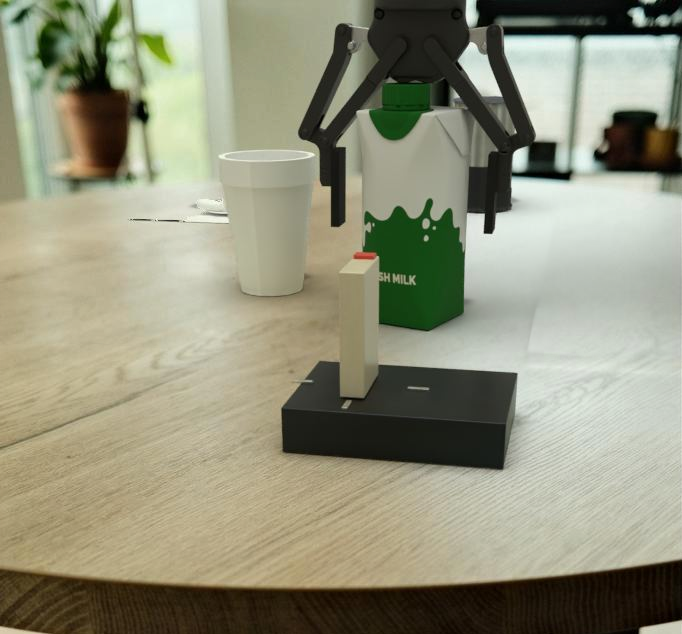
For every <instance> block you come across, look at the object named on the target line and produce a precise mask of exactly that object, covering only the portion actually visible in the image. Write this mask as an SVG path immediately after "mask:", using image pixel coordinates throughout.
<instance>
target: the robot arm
mask: <svg viewBox="0 0 682 634" xmlns="http://www.w3.org/2000/svg"><path fill="white" fill-rule="evenodd" d="M371 21H372V22H371V24H370V26H369V27H364V26H357V25H354V24H352V23H350V22H342V23H341V22H340V23H338V24H337V25H336V26H335V28H334V35H333V36H334V37H333V46H332V47H333V48H332V53H331V55H330V58H329V59H328V62H327V64H326V67H325V69H324V71H323V72H322V75H321V77H320V81H319V82H318V85H317V87H316V88H315V91H314V94H313V96H312V98H311V100H310V103H309V105H308V107H307V109H306V112H305V114H304V116H303V119H302V121H301V123H300V125H299V127H298V130H297V135H298V138H299V139H300V140H302V141H307V142H309V143H311V144H314V145H315V146H316V147H317V149H318V152H319V154H318V155H319V183H320V185H321V187H330V228H340V227H341V226H342V225H344V224H345V223H346V222H347V221H346V219H347V218H346V217H347V216H346V213H347V211H346V210H347V207H346V206H347V203H346V200H347V193H346V192H347V190H346V189H347V187H346V186H347V147H346V146H337V145H338V144H339V141H340V140H341V139H342V137H343V136H344V134H345V133H346V132H347V130H349V128H350V127H351V126H352V124H353V123H354V122H355V121H356V120H357V115H356V113H357V111H359V110H365V108H366V107H367V105H369V103H370V102H371V101H372V99H373V98H374V97H375V96H376V95H377V93H378V92H379V91H380V89H382V84H384V83H387V82H388V81H389V79H391V80H393V81H395V82H396V83H408V82H418V83H430V84H436V83H438V82H441V81H442V80H444V79H445V80H446V82H447V83H448V85H449V86H450V87H451V88H452V90H454V92H455V93H456V94H457V95H458V98H459V97H460V98H461V100H462V101H463V102H464V104H465V105H466V107H467V108H468V109H469V111H470V112H471V113H472V115H473V116H474V118H475V119H476V120H477V122H478V123H479V124H480V126H481V127H482V129H483V130H484V131H485V133H486V134H487V136H488V137H489V138H490V140H491V141H492V142H493V144H494V145H495V147H496V148H497V149H498V151H491V152H490V153H489V155H488V169H487V185H486V201H485V212H484V217H483V218H484V219H483V234H484V235H493V233H494V232H495V230H496V217H497V211H496V205H497V193H507V192H508V190H509V187H510V185H511V186H512V180H511V175H513V167H512V166H513V162H514V154H515V152H516V151H518V150H521V149H523V148H527V147H530V146H532V145H533V144H534V142H535V140H536V138H537V134H536V133H537V132H536V130H535V128H534V126H533V122H532V120H531V118H530V115H529V112H528V110H527V107H526V105H525V102H524V100H523V96H522V94H521V92H520V89H519V87H518V84H517V82H516V79H515V77H514V74H513V71H512V69H511V66H510V63H509V61H508V58H507V56H506V53H505V32H504V27H503V26H502V24H500V23H491V24H489V25H488V26H481V27H480V26H479V27H473V28H470V27H469V25H468V22H467V0H373V17H372V20H371ZM366 42H367V43H368V45H369V47H370V48H371V50H372V52H373V53H374V55H375V56H376V58H377V62H375V64H374V66H373V67H372V68H371V69H370V70H369V72H368V73H367V75H366V76H365V78H364V79H363V81H362V82H361V83H360V84H359V86H358V87H357V88H356V90H354V92H353V93H352V95H351V96H350V97H349V99H348V100H347V101H346V102H345V104H343V106H342V107H341V109H340V110H339V111H338V112H337V114H335V116H334V118H333V119H332V120H331V121H330V123H329V124H328V125H327V127H326V128H322V124H323V122H324V121H325V118H326V115H327V114H328V111H329V109H330V107H331V105H332V102H333V100H334V99H335V96H336V94H337V92H338V89H339V87H340V86H341V82H342V80H343V78H344V76H345V74H346V73H347V69H348V68H349V65H350V63H351V60H352V57H353V54H357V53H359V52H360V50H361V48H362V46H363V45H364V43H366ZM470 43H473V44H475V46H476V47H477V50H478V52H479V54H481V55H483V56H485V55H486V56H487V59H488V63H489V67H490V69H491V72H492V74H493V77H494V79H495V82H496V84H497V87H498V89H499V92H500V94H501V97H503V100H504V102H505V105H506V107H507V110H508V112H509V115H510V117H511V120H512V122H513V125H514V127H515V133H514V134H512V135H510V134H509V133H508V131H507V130H506V129H505V127H504V126H503V125H502V123H501V122H500V120H499V119H498V118H497V116H496V115H495V113H494V112H493V111H492V109H491V108H490V106H489V105H488V104H487V102H486V101H485V99H484V98H483V97H482V96H483V95H482V94H481V92H480V91H479V90H478V88H477V87H476V85H475V84H474V83H473V82H472V80H471V79H470V77H469V74H468V73H467V72H466V70H465V68H463V66H462V65H461V63H460V62H459V61H458V60H459V59H460V58H461V56H462V55H463V54H464V52H465V51H466V49H467V48H468V47H469V45H470ZM512 161H513V162H512Z"/></svg>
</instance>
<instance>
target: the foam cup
mask: <svg viewBox="0 0 682 634" xmlns="http://www.w3.org/2000/svg"><path fill="white" fill-rule="evenodd" d="M316 156H317V155H316V154H315V153H313V152H310V151H304V150H295V149H253V150H239V151H231V152H224V153H221V154H218V155H217V158H218V160H217V161H218V175H219V177H218V178H219V182H220V185H221V184H222V185H223V191H224V197H225V202H226V208H227V213H228V219H229V223H228V225H229V231H230V235H231V241H232V246H233V252H234V257H235V262H236V269H237V274H238V280H239V284H240V290H241V292H242V293H244V294H247V295H248V296H249V295H250V296H257V297H280V296H291V295H293V294H297V293H299V292H301V291H302V290H303V289H304V287H303V285H304V281H305V272H306V263H307V254H308V253H307V252H308V245H309V244H308V243H309V242H308V241H309V233H310V224H311V216H312V215H311V214H312V213H311V212H312V204H313V195H314V185H315V182H316V181H317V160H316V158H317V157H316Z"/></svg>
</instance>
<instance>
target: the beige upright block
mask: <svg viewBox="0 0 682 634" xmlns="http://www.w3.org/2000/svg"><path fill="white" fill-rule="evenodd" d="M376 254H377V253H367V252H362V251H356V252H355V253H354V254H353V257H352V258H351V259H350V260H349V262H347V263H346V264H345V265H344V266H343V267H342V269H340V271H338V330H339V331H338V332H339V333H338V334H339V335H338V337H339V341H338V343H339V362H340V397H350V398H364V397H365V396H366V394H367V392H368V391H369V389H370V387H371V386H372V384H373V382H374V381H375V379H376V377H377V375H378V364H379V353H380V352H379V346H380V345H379V343H380V342H379V341H380V339H379V338H380V337H379V335H380V334H379V333H380V332H379V331H380V329H379V327H380V326H379V325H380V323H379V257H378V256H376Z"/></svg>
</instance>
